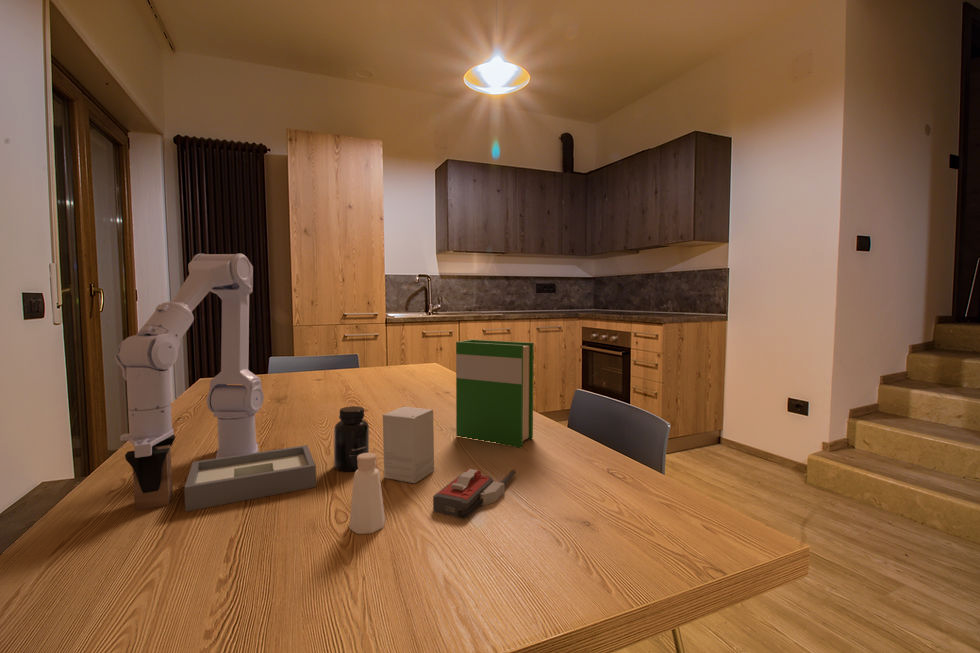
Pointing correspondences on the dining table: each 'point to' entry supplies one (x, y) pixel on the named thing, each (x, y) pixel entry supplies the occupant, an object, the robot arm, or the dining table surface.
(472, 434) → the hardback book
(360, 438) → the supplement bottle
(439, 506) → the walkie-talkie
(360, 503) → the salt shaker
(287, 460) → the open box
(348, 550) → the dining table surface
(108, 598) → the dining table surface
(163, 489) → the wooden peg
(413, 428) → the supplement box
